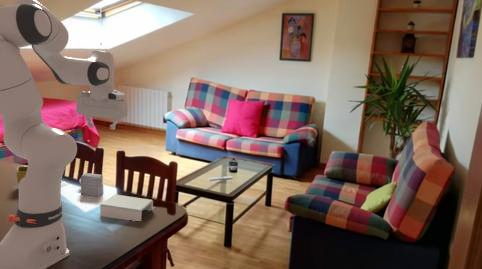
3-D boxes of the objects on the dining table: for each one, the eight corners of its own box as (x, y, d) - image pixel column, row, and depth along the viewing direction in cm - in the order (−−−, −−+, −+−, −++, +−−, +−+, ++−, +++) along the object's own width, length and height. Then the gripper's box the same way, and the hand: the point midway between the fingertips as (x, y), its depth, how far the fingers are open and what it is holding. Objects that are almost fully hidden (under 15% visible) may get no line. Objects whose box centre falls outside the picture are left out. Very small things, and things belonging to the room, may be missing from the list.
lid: (140, 212, 144) (140, 210, 144) (100, 206, 147) (100, 204, 147) (152, 201, 156) (152, 199, 155) (115, 196, 158) (115, 194, 158)
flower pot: (18, 186, 171) (18, 166, 169) (40, 184, 175) (40, 165, 173) (16, 192, 163) (16, 172, 162) (40, 191, 167) (39, 171, 165)
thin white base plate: (140, 222, 145) (140, 212, 144) (100, 216, 147) (100, 206, 147) (152, 210, 157) (152, 201, 156) (115, 205, 159) (115, 195, 158)
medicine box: (102, 193, 171) (103, 174, 169) (98, 197, 167) (98, 177, 165) (85, 191, 172) (85, 172, 170) (80, 194, 167) (80, 175, 166)
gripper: (72, 91, 150) (72, 126, 153) (122, 96, 147) (121, 132, 150) (82, 90, 156) (81, 124, 159) (129, 95, 153) (128, 129, 156)
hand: (101, 128), depth 154 cm, fingers open, 8 cm apart
